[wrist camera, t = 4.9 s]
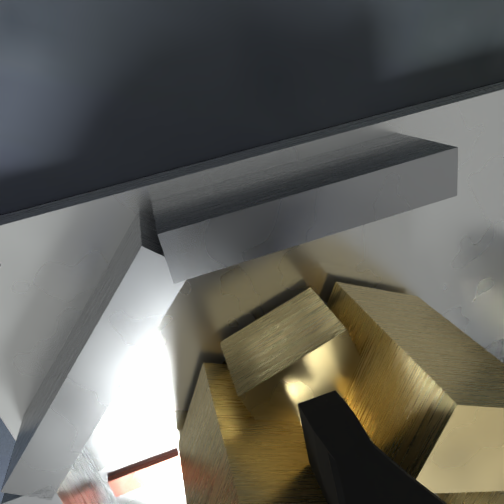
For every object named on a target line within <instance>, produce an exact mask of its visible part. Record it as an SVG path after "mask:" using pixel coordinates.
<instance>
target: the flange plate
mask: <svg viewBox="0 0 504 504" xmlns="http://www.w3.org/2000/svg"><path fill="white" fill-rule="evenodd" d="M335 282H341V283H346V284H352V285H357V286H363V287H369V288H374V289H380V290H385V291H391V292H397V293H402V294H408V295H413V296H418V297H419V298H420V299H422V300H423V301H424V302H425V303H427V304H428V305H429V306H431V307H432V308H433V309H434V310H436V311H437V312H438V313H440V314H441V315H442V316H443V317H445V318H446V319H447V320H449V321H450V322H451V323H452V324H454V325H455V326H456V327H458V328H459V329H460V330H461V331H463V332H464V333H465V334H467V335H468V336H469V337H470V338H472V339H473V340H474V341H475V342H477V343H478V344H479V345H481V346H482V347H483V348H484V349H486V350H487V351H488V352H490V353H491V354H492V355H493V356H495V357H496V358H497V359H499V360H500V361H501V362H502V363H504V81H503V82H499V83H495V84H492V85H488V86H484V87H480V88H477V89H473V90H469V91H465V92H462V93H458V94H454V95H450V96H447V97H443V98H439V99H435V100H432V101H428V102H424V103H420V104H417V105H413V106H409V107H405V108H402V109H398V110H394V111H390V112H387V113H383V114H379V115H376V116H372V117H368V118H364V119H361V120H357V121H353V122H349V123H346V124H342V125H338V126H334V127H331V128H327V129H323V130H319V131H316V132H312V133H308V134H304V135H301V136H297V137H293V138H289V139H286V140H282V141H278V142H274V143H271V144H267V145H263V146H259V147H256V148H252V149H248V150H244V151H241V152H237V153H233V154H229V155H226V156H222V157H218V158H214V159H211V160H207V161H203V162H199V163H196V164H192V165H188V166H184V167H181V168H177V169H173V170H169V171H166V172H162V173H158V174H154V175H151V176H147V177H143V178H140V179H136V180H132V181H128V182H125V183H121V184H117V185H113V186H110V187H106V188H102V189H98V190H95V191H91V192H87V193H83V194H80V195H76V196H72V197H68V198H65V199H61V200H57V201H53V202H50V203H46V204H42V205H38V206H35V207H31V208H27V209H23V210H20V211H16V212H12V213H8V214H5V215H1V216H0V417H1V419H2V420H3V422H4V423H5V425H6V426H7V428H8V430H9V431H10V433H11V434H12V436H13V437H14V439H15V440H16V443H15V446H14V449H13V453H12V456H11V459H10V463H9V466H8V469H7V473H6V476H5V479H4V483H3V486H2V489H1V492H3V493H4V496H3V500H2V503H1V504H186V498H185V491H184V484H183V476H182V469H181V462H180V454H179V447H178V442H179V439H180V436H181V432H182V429H183V426H184V423H185V419H186V416H187V413H188V410H189V406H190V403H191V400H192V397H193V394H194V390H195V387H196V384H197V381H198V377H199V374H200V371H201V368H202V364H203V363H215V364H226V365H227V363H226V360H225V357H224V354H223V351H222V348H221V345H220V342H221V341H223V340H224V339H226V338H228V337H229V336H231V335H233V334H234V333H236V332H237V331H239V330H241V329H242V328H244V327H246V326H247V325H249V324H251V323H252V322H254V321H256V320H257V319H259V318H260V317H262V316H264V315H265V314H267V313H269V312H270V311H272V310H274V309H275V308H277V307H279V306H280V305H282V304H283V303H285V302H287V301H288V300H290V299H292V298H293V297H295V296H297V295H298V294H300V293H301V292H303V291H305V290H306V289H308V288H310V287H311V288H312V289H313V290H314V292H315V293H316V294H317V295H318V296H319V297H320V299H321V300H322V301H323V302H324V303H325V305H327V302H328V300H329V297H330V295H331V292H332V290H333V287H334V285H335ZM348 406H349V405H348ZM349 407H350V406H349ZM351 410H352V409H351ZM359 422H360V421H359ZM361 425H362V424H361ZM362 427H363V426H362ZM364 430H365V429H364ZM365 432H366V431H365ZM366 434H367V432H366ZM367 435H368V434H367ZM368 437H369V435H368ZM369 439H370V440H371V438H370V437H369ZM371 442H373V441H372V440H371ZM434 494H435V495H436V496H438V495H437V493H434ZM438 497H439V496H438ZM439 498H440V497H439Z"/></svg>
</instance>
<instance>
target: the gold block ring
mask: <svg viewBox="0 0 504 504" xmlns="http://www.w3.org/2000/svg"><path fill="white" fill-rule="evenodd" d="M220 345H221V348H222V351H223V354H224V357H225V360H226V363H227V365H226V364H215V363H203V364H202V368H201V371H200V374H199V377H198V381H197V384H196V387H195V390H194V394H193V397H192V400H191V403H190V406H189V410H188V413H187V416H186V419H185V423H184V426H183V429H182V432H181V436H180V439H179V442H178V447H179V454H180V462H181V469H182V476H183V484H184V491H185V498H186V504H327V502H326V500H325V498H324V495H323V493H322V491H321V489H320V486H319V484H318V482H317V480H316V477H315V475H314V473H313V471H312V468H311V466H310V464H309V459H308V454H307V449H306V444H305V439H304V434H303V429H302V424H301V419H300V414H299V409H298V403H301V402H304V401H306V400H309V399H312V398H315V397H318V396H320V395H323V394H326V393H329V392H332V391H335V390H336V392H337V393H338V394H339V395H340V396H341V397H342V399H343V400H344V401H345V402H346V403H347V405H349V406H350V408H351V409H352V411H353V412H354V413H355V415H356V417H357V418H358V420H359V421H360V423H361V424H362V426H363V428H364V429H365V431H366V432H367V434H368V435H369V437H370V438H371V440H372V441H373V443H374V444H375V445H376V446H377V447H378V448H379V449H380V450H382V451H383V452H384V453H385V454H386V455H387V456H389V457H390V458H391V459H392V460H393V461H394V462H396V463H397V464H398V465H399V466H400V467H401V468H403V469H404V470H405V471H406V472H407V473H409V474H410V475H411V476H412V477H414V478H415V479H416V480H417V481H418V482H420V483H421V484H422V485H424V486H425V487H426V488H427V489H429V490H430V491H431V492H433V493H437V495H438V496H439V497H440V499H442V500H443V501H444V502H446V503H447V504H504V363H502V362H501V361H500V360H499V359H497V358H496V357H495V356H493V355H492V354H491V353H490V352H488V351H487V350H486V349H484V348H483V347H482V346H481V345H479V344H478V343H477V342H475V341H474V340H473V339H472V338H470V337H469V336H468V335H467V334H465V333H464V332H463V331H461V330H460V329H459V328H458V327H456V326H455V325H454V324H452V323H451V322H450V321H449V320H447V319H446V318H445V317H443V316H442V315H441V314H440V313H438V312H437V311H436V310H434V309H433V308H432V307H431V306H429V305H428V304H427V303H425V302H424V301H423V300H422V299H420V298H419V297H418V296H413V295H408V294H402V293H397V292H391V291H385V290H380V289H374V288H369V287H363V286H357V285H352V284H346V283H341V282H335V285H334V287H333V290H332V292H331V295H330V297H329V300H328V302H327V305H325V303H324V302H323V301H322V300H321V299H320V297H319V296H318V295H317V294H316V293H315V292H314V290H313V289H312V288H311V287H310V288H308V289H306V290H305V291H303V292H301V293H300V294H298V295H297V296H295V297H293V298H292V299H290V300H288V301H287V302H285V303H283V304H282V305H280V306H279V307H277V308H275V309H274V310H272V311H270V312H269V313H267V314H265V315H264V316H262V317H260V318H259V319H257V320H256V321H254V322H252V323H251V324H249V325H247V326H246V327H244V328H242V329H241V330H239V331H237V332H236V333H234V334H233V335H231V336H229V337H228V338H226V339H224V340H223V341H221V342H220Z"/></svg>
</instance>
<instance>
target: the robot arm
mask: <svg viewBox="0 0 504 504" xmlns="http://www.w3.org/2000/svg"><path fill="white" fill-rule="evenodd" d="M298 409H299V414H300V419H301V424H302V429H303V434H304V439H305V444H306V449H307V454H308V459H309V464H310V466H311V468H312V471H313V473H314V475H315V477H316V480H317V482H318V484H319V486H320V489H321V491H322V493H323V495H324V498H325V500H326V502H327V504H447V503H446V502H444V501H443V500H442V499H440V498H439V497H438V496H436V495H435V494H434V493H433V492H431V491H430V490H429V489H427V488H426V487H425V486H424V485H422V484H421V483H420V482H418V481H417V480H416V479H415V478H414V477H412V476H411V475H410V474H409V473H407V472H406V471H405V470H404V469H403V468H401V467H400V466H399V465H398V464H397V463H396V462H394V461H393V460H392V459H391V458H390V457H389V456H387V455H386V454H385V453H384V452H383V451H382V450H380V449H379V448H378V447H377V446H376V445H375V444H374V443H373V442H371V440H370V439H369V437H368V435H367V434H366V432H365V430H364V428H363V427H362V425H361V423H360V422H359V420H358V418H357V417H356V415H355V413H354V412H353V411H352V410H351V408H350V407H349V406H348V405H347V403H346V402H345V401H344V400H343V399H342V397H341V396H340V395H339V394H338V393H337V392H336V390H335V391H332V392H329V393H326V394H323V395H320V396H318V397H315V398H312V399H309V400H306V401H304V402H301V403H298Z"/></svg>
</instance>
